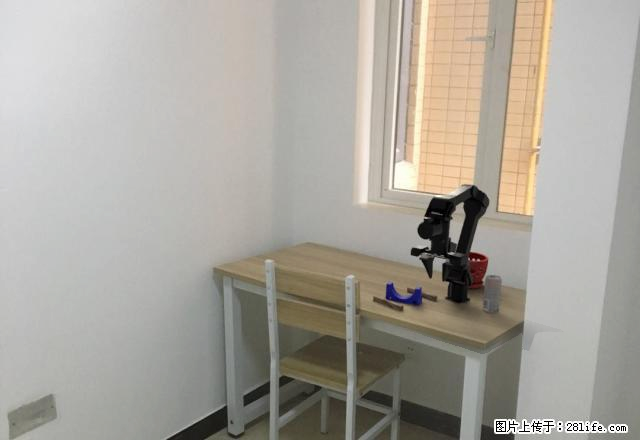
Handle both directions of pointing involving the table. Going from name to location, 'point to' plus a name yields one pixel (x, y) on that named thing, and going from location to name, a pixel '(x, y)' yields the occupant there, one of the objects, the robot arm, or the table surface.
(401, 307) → the brown wooden bars
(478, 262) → the plant pot
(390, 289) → the cable clip
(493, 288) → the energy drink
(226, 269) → the table surface
